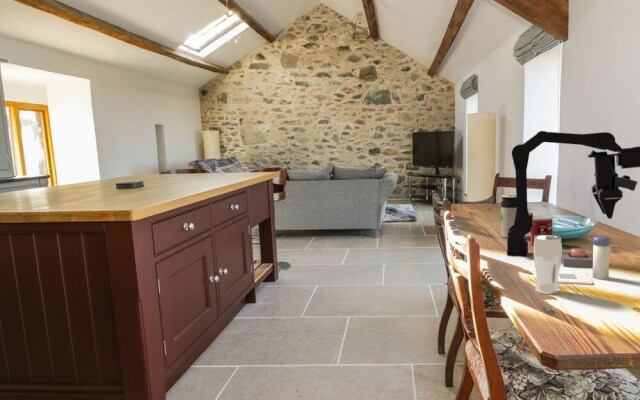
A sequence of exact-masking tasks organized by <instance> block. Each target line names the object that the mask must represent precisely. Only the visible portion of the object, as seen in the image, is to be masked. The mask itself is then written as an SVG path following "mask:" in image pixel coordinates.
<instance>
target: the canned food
mask: <svg viewBox="0 0 640 400" xmlns="http://www.w3.org/2000/svg"><path fill="white" fill-rule="evenodd" d="M532 222H533V227H532V226H531V231H530V244H531V246H533V247H534V237H535V236H538V235H553V217H552V216H549V215H533V219H532Z"/></svg>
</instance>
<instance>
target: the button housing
mask: <svg viewBox="0 0 640 400" xmlns="http://www.w3.org/2000/svg"><path fill="white" fill-rule="evenodd" d="M570 254H571V251H562V259H561V265H562V266H563V267H568V268H569V267H570V268H571V267H572V268H593V252H590V251H586V258H576V257H570Z"/></svg>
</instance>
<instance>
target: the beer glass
mask: <svg viewBox="0 0 640 400" xmlns="http://www.w3.org/2000/svg"><path fill="white" fill-rule="evenodd" d="M562 247H563V245H562V237H561V236H558V235H553V234H552V235H538V236H535V237H534V246H533V248H532V249H533V252H532V256H533V262H534V268H535V272H536V273H535V274H536V281H535V286H534V290H535V292H537V293H540V294H545V295H556V294H559V293H560V291H561V289H560V285H559V284H560V283H558V275H559V271H561V270H560V269H561V265H562V263H561V259H562V252H563V248H562Z"/></svg>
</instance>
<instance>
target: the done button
mask: <svg viewBox="0 0 640 400" xmlns="http://www.w3.org/2000/svg"><path fill="white" fill-rule="evenodd" d="M570 252H571V254H570V257H576V258H586V252H587V250H586V249H584V248H581V247H572V248H570Z"/></svg>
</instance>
